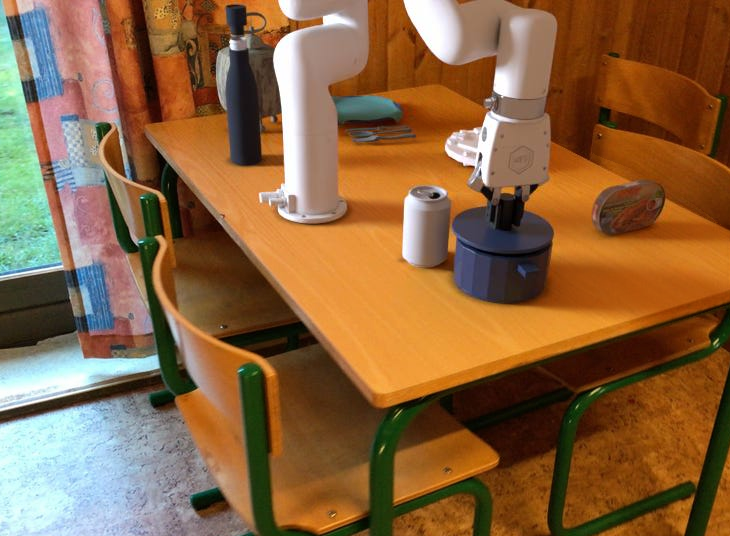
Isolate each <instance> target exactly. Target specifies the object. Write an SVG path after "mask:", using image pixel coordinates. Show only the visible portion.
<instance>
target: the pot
mask: <svg viewBox="0 0 730 536" xmlns="http://www.w3.org/2000/svg"><path fill="white" fill-rule="evenodd" d="M455 238H456V239H455V249H454V263H453V282H454V284H455V286H456V287H457V288H458V289H459V290H460V291H462V293H464V294H466V295H467V296H469V297H471V298H474V299H477V300H480V301H483V302H488V303H494V304H518V303H519V304H520V303H524V302H529V301H532V300H534V299H536V298H538V297H539V296H541V295H542V294H543V293H544V292H545V290H546V286H547V284H548V279H549V271H550V266H551V259H552V252H553V246H554V242H553V240H552V241H551V243H550V244H549V245H547V246H546V247H544V248H542V249H540V250H537V251H533V252H529V253H521V254H504V253H495V252H489V251H485V250H481V249H478V248H475V247H472V246H470V245H468V244H466V243H464V242H462V241H461V240H460V239H458V238H457V237H456V236H455Z"/></svg>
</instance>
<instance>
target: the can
mask: <svg viewBox="0 0 730 536" xmlns="http://www.w3.org/2000/svg"><path fill="white" fill-rule="evenodd" d="M403 202H404V205H403V225H402V226H403V227H402V228H403V229H402V231H403V232H402V249H401V250H402V251H401V252H402V254H401V255H402V258H403V259H404V260H405V261H407V263H408V264H410V266H411V265H412V266H413V267H417V268H422V269H423V268H424V269H429V268H434V267H437V266H439V265H441V264H442V263H443V262H446V260H447V259H448V253H449V240H450V226H451V213H452V200H451V199H450V198H449V192H448V191H447V189H445V188H443V187H441V186H438V185H433V184H422V185H421V184H420V185H416V186H413V187H411V188H410V189H409V190H408V194H407V196H406V197H405V198H404V201H403Z"/></svg>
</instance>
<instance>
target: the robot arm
mask: <svg viewBox="0 0 730 536" xmlns="http://www.w3.org/2000/svg"><path fill="white" fill-rule="evenodd" d="M403 3H404V6H405V10H406V12H407V15H408V17H409V18H410V20H411V21H410V22H411V23H412V24H413V26H414V27H415V29H416V31H417V32H418V34H419V35H420V37H421V39H422V40H423V42H424V43H425V45H426V46H427V47H428V49H429V50H430V51H431V53H433V55H435V57H436V58H437V59H439V60H440V61H441V62H443V63H445V64H448V65H450V66H451V65H452V66H461V65H465V64H468V63H472V62H474V61H477V60H480V59H483V58H489V57H494V56H496V63H495V72H494V81H493V90H492V91H491V96H490V97H489V98H487V97H486V98H483V102H482V104H483V108H484V109H489V110H490V111H487V112H486V114H485V117H484V121H483V124H482V126H481V127H482V130H481V134H480V139H479V143H478V149H477V155H476V162H475V166H474V170H473V172H472V173H471V175H470V176H469V178H468V179H467V181H466V185H467V186H468V188H470V190H473V191H475V192H477V193H479V194H482V196H483V197H484V198H485V199H486V205H485V206H486V215H485V218H486V221H487V222H488V223H489V224H490V225H491V226H492V228H493V229H498V228H499V225H500V218H501V210H502V205H501V204H500V203H499V200H500V195H501V193H502V191H503V188H504V189H505V188H513V187H514V189H513V195H515V196H516V202H515V209H514V216H513V225H514V226H516V227H519V226H520V224H521V219H522V218H523V213H524V210H525V205H526V203H527V202H528V201H529V200H530V196H531V195H532V194H533V193H534V192H536V190H537V189H538V188H539V187H541V186H543V185H545V184H546V183H548V182H549V181H550V178H551V177H550V174H549V167H550V158H551V143H552V142H551V140H552V135H551V133H552V132H551V131H552V130H551V117H550V114H548V113H547V112H546V107H547V101H548V100H547V99H548V93H549V88H550V87H549V86H550V79H551V75H552V66H553V59H554V53H555V52H554V51H555V46H556V39H557V33H558V21H557V19H556V16H554V15H553V14H552V13H551V12H548V11H546V10H542V9H535V8H523V7H521V6H518V5H516V4H514V3H512V2H509V1H507V0H471V1H467V2H464V3H463V2H462V3H460V4H459V2H458V1H457V0H403ZM278 5H279V8H280V10H281V11H282V13H283V15H285V17H287V18H288V19H291V20H293V21H310V20H316V19H320V18H322V22H323V24H319V25H313V26H309V27H305V28H301V29H297V30H295V31H292V32H290V33H288V34H286V35H284V36H283V37H282V38H281V39H280V41H278V43H277V45H276V46H275V48H276V49H275V52H274V68H275V73H276V77H277V81H278V85H279V90H280V97H281V106H282V113H281V116H282V117H281V119H282V138H283V165H284V183H281V184H280V186H281V187H280V188H277V189H276V191H263V192H262V191H261V192H259V202H260V204H268V203H269V207H277V212H278V214H279V215H280V216H281V217H282V218H283V219H286V220H289V221H291V222H295V223H299V224H312V225H314V224H324V223H330V222H333V221H336V220H338V219H340V218H342V217H343V216H344V215H345V214H346V213H347V211H348V204H347V201H346V200H345V199H344V198H343V197H342V196H340V195H339V123H338V117H337V110H336V106H335V104H334V101H333V99H332V98H331V97H332V96H331V93H330V91H329V86H331V85H334V84H336V83H339V82H343V81H345V80H349V79H352V78H354V77H356V76H358V75H359V74H361V73H362V72H363V71H364V69H365V68H366V66H367V64H368V59H369V53H370V29H369V28H370V27H369V3H368V0H278Z"/></svg>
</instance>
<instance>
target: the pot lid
mask: <svg viewBox="0 0 730 536" xmlns="http://www.w3.org/2000/svg"><path fill="white" fill-rule="evenodd" d="M515 202H516V196H515V195H514V193H510V192H501V195H500V200H499V203H500V204H501V205H502V210H501V218H500V225H499V228H498V229H493V228H492V226H491V225H490V224H489V223H488V222H487V221H486V218H485V215H486V206H487V205H483V206H475V207H471V208H468V209H465V210H463V211H460V212H459V213H457V214H456V215H455V216H454V217H453V219H452V221H451V231H452V233H453V234H454V236H455V238H456V237H457V238H458V239H460V240H461V241H462V242H464V243H466V244H468V245H470V246H472V247H475V248H478V249H481V250H485V251H489V252H495V253H504V254H521V253H529V252H533V251H537V250H540V249H542V248H544V247H546V246H547V245H549V244H550V243H551V241H552V242H553V239H554V237H555V230H554V227H553V226H552V224H551V223H550V222H549V221H548V220H547V219H546V218H544V217H542V216H540V215H539V214H536V213H534V212H532V211H529V210H525V209H524V213H523V218H522V219H521V224H520V226H519V227H516V226H514V225H513V216H514V209H515Z"/></svg>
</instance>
